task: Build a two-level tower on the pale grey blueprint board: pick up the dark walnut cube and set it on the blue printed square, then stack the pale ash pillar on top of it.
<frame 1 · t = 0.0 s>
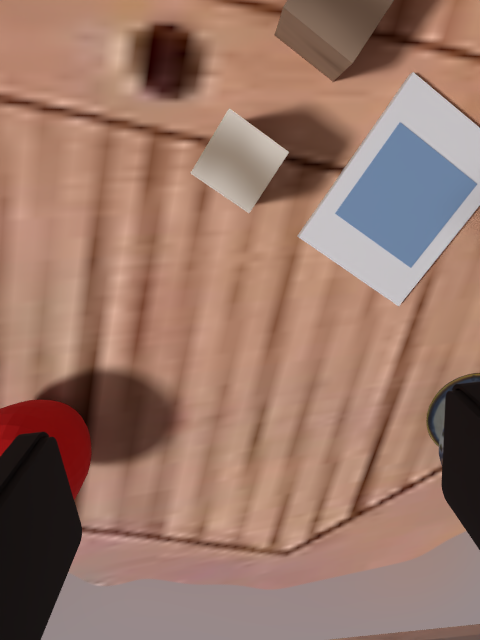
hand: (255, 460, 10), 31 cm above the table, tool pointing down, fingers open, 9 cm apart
walnut cube: (325, 24, 34), on the table
blueprint board: (401, 198, 39), on the table
tomato: (55, 421, 45), on the table
ash pillar: (237, 166, 37), on the table
apothecary jar: (470, 413, 46), on the table
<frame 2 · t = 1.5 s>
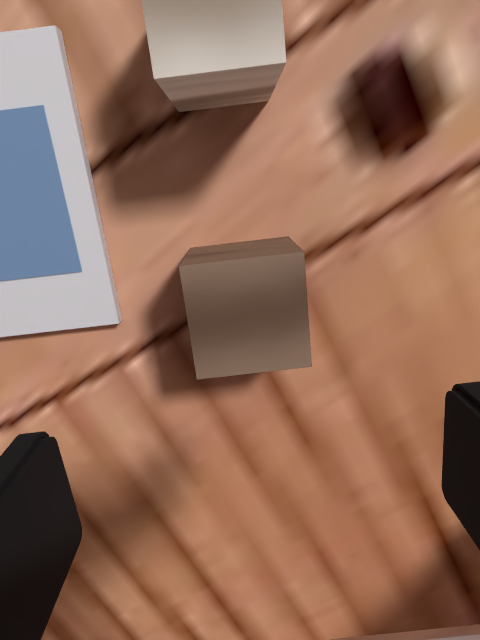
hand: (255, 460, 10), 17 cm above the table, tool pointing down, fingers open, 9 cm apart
walnut cube: (244, 289, 27), on the table
ash pillar: (217, 55, 23), on the table
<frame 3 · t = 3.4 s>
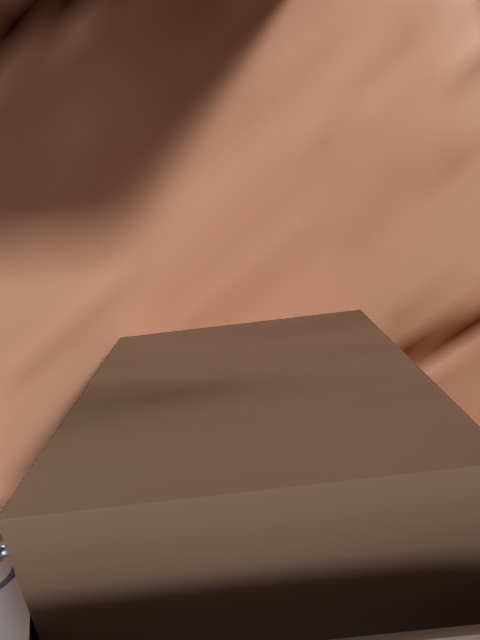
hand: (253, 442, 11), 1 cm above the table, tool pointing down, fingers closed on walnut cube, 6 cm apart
walnut cube: (252, 427, 12), on the table, touching gripper
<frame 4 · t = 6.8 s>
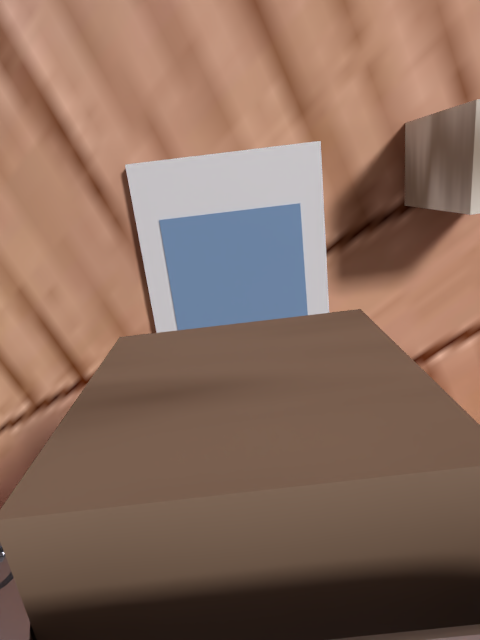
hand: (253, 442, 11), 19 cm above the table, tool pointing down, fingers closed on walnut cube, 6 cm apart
walnut cube: (252, 427, 11), point 19 cm above the table, touching gripper
blueprint board: (237, 277, 29), on the table
ash pillar: (443, 160, 27), on the table
when the fingers open (3 cm above the table, at t = 10.2 s): walnut cube drops 1 cm, resting on blueprint board.
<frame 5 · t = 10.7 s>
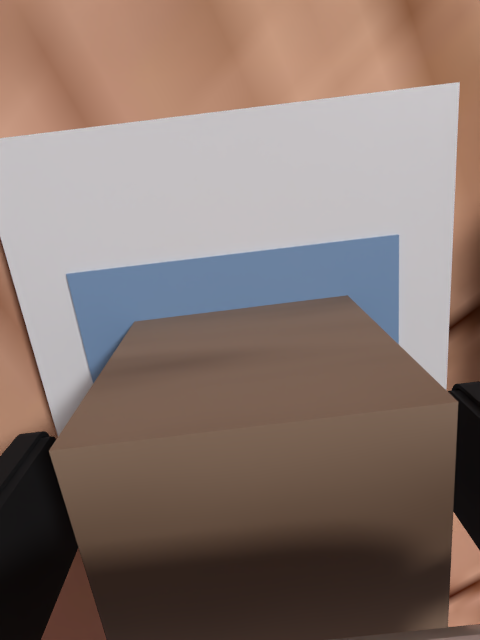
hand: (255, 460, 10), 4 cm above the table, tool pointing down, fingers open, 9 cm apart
walnut cube: (252, 402, 13), point 1 cm above the table, touching blueprint board
blueprint board: (248, 388, 14), on the table
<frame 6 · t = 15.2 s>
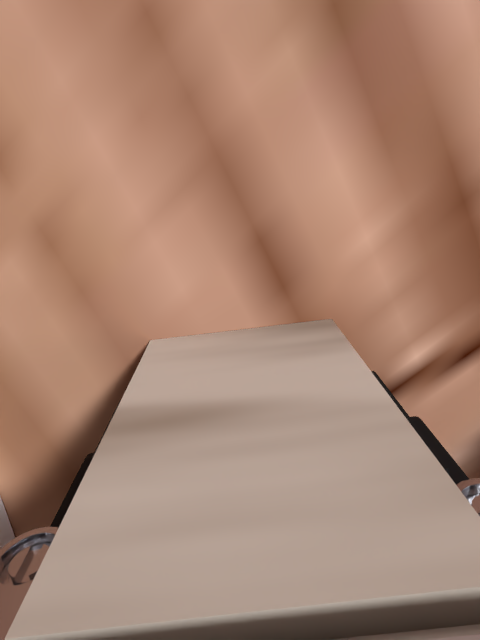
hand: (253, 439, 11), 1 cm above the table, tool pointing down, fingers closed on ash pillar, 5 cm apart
ash pillar: (250, 409, 12), on the table, touching gripper
when the fingers open (10 cm above the table, at t = 20.8 s): ash pillar drops 1 cm, resting on walnut cube.
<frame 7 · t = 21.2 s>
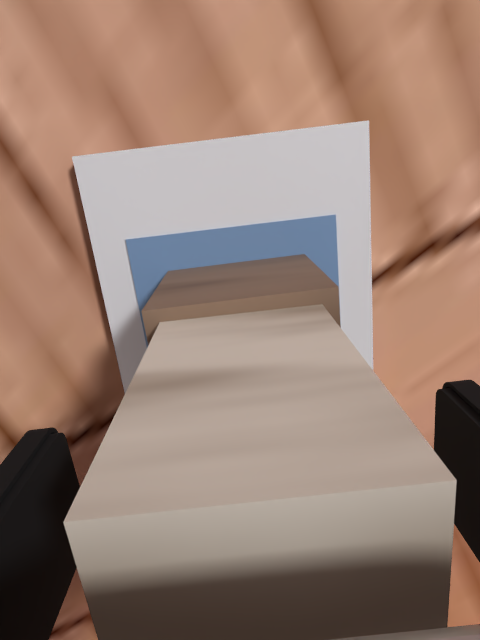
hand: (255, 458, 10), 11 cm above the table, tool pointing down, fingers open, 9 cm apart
walnut cube: (244, 326, 19), point 1 cm above the table, touching ash pillar, blueprint board
blueprint board: (241, 320, 20), on the table
ash pillar: (249, 386, 14), point 7 cm above the table, touching walnut cube
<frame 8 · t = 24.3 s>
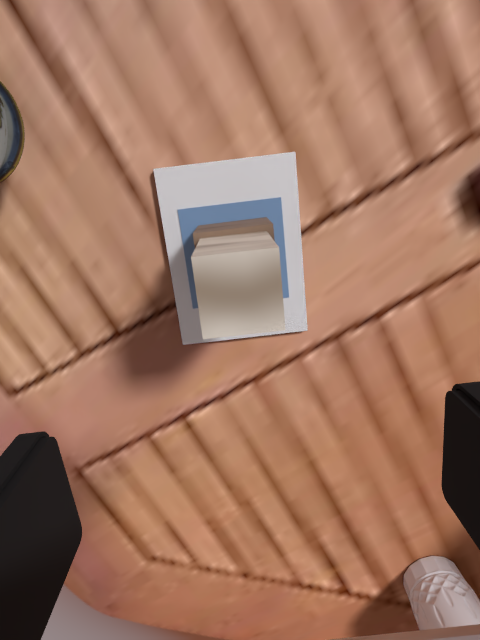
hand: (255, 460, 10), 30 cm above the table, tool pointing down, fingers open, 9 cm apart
walnut cube: (236, 255, 38), point 1 cm above the table, touching ash pillar, blueprint board
white cup: (429, 574, 52), on the table
blueprint board: (235, 253, 39), on the table
ash pillar: (237, 267, 32), point 7 cm above the table, touching walnut cube
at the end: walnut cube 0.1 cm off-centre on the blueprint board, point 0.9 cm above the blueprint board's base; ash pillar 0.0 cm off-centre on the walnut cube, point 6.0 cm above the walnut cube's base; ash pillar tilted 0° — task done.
